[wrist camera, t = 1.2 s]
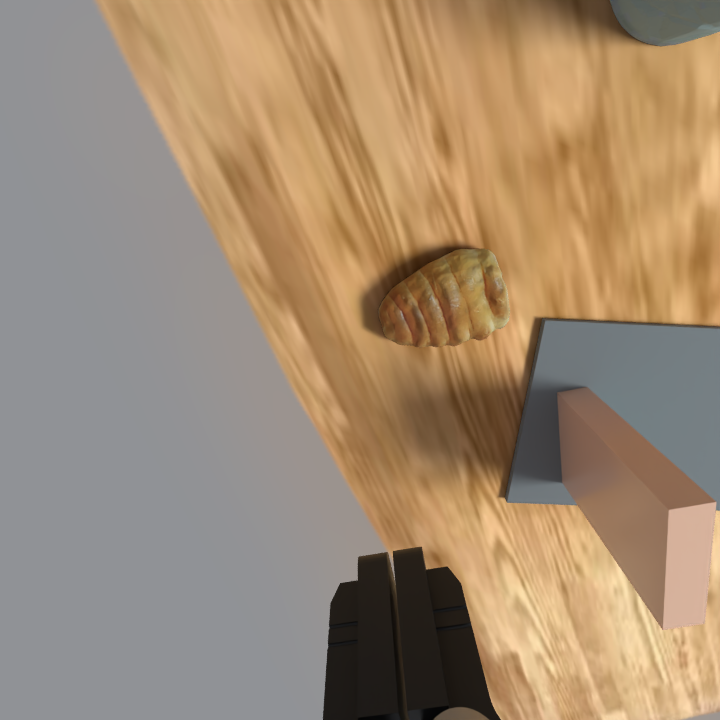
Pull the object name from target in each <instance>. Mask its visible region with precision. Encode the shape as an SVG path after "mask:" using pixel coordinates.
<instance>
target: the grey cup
mask: <svg viewBox="0 0 720 720" xmlns="http://www.w3.org/2000/svg"><path fill="white" fill-rule="evenodd" d="M610 3H611V6H612V9H613V12H614V14H615V16H616V18H617V20H618V22H619V23H620V25H621V26H622V27H623V28H624V29H625V30H626V31H627V32H628V33H629V34H630V35H631V36H633V37H634V38H636V39H637V40H639V41H642V42H645V43H647V44H652V45H657V46H668V45H676V44H680V43H684V42H688V41H691V40H694V39H698V38H701V37H704V36H708V35H711V34H714V33H717V32H719V31H720V0H610Z"/></svg>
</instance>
